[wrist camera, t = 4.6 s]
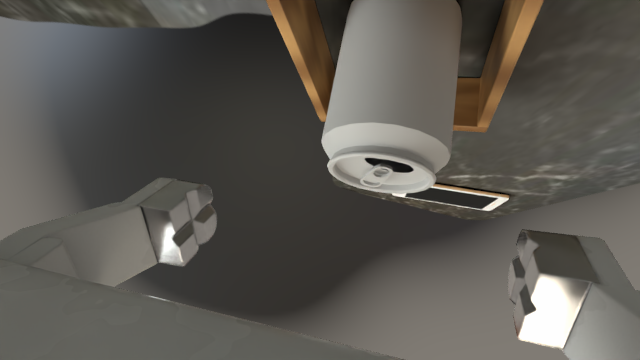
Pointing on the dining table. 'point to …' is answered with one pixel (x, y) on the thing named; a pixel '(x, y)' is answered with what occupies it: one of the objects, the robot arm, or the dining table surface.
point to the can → (394, 94)
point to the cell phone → (458, 197)
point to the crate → (471, 93)
